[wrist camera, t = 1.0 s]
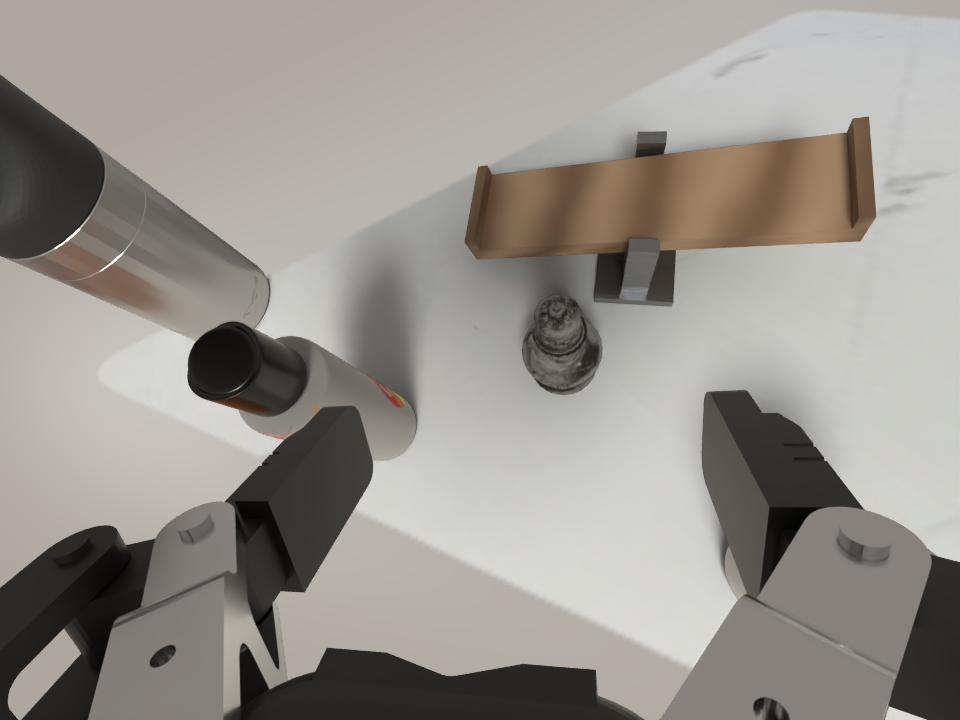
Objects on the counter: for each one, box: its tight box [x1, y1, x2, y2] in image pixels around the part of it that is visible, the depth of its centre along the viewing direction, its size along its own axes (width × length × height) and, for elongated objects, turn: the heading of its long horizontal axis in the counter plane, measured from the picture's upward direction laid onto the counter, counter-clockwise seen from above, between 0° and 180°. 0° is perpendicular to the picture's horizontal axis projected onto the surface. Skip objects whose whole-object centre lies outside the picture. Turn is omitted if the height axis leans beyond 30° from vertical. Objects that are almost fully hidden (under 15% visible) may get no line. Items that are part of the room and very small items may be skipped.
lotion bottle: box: [187, 321, 416, 461], centre depth 31 cm, size 6×6×20 cm
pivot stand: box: [595, 131, 676, 306], centre depth 37 cm, size 6×11×7 cm, turn 171°
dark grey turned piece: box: [522, 294, 602, 395], centre depth 33 cm, size 6×6×12 cm
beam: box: [465, 117, 876, 259], centre depth 35 cm, size 26×7×3 cm, turn 81°
